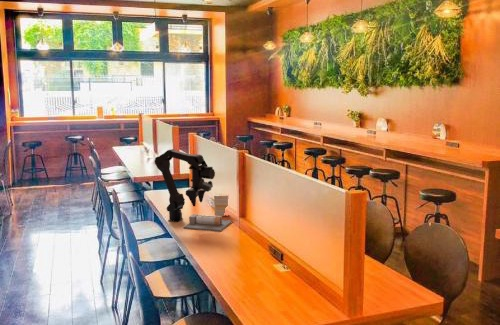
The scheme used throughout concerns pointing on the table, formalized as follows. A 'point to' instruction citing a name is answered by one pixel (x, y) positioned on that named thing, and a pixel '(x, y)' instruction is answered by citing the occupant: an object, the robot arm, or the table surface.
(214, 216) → the tong leg
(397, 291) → the table surface
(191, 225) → the tong mat
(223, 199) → the supplement box
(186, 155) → the robot arm
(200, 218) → the tong leg
